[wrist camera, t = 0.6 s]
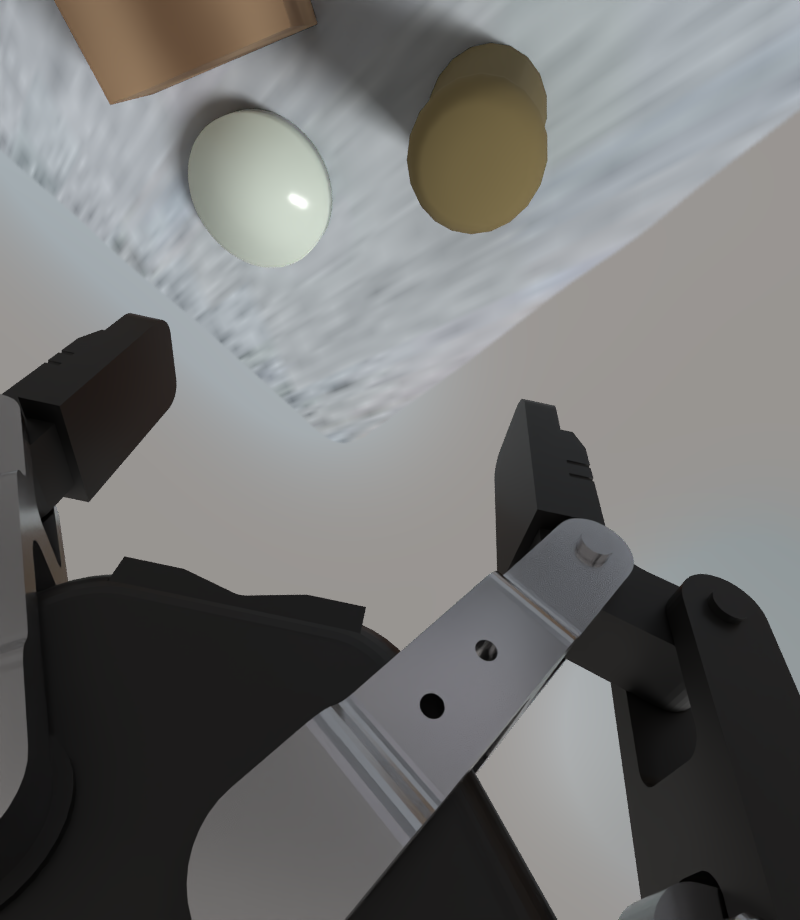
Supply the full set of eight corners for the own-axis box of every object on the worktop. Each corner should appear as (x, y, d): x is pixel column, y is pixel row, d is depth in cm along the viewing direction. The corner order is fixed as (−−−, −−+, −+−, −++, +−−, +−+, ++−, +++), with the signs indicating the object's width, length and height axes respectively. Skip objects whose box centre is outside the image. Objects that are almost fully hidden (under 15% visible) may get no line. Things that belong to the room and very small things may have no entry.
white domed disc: (300, 86, 27) (289, 90, 26) (352, 239, 32) (345, 250, 30) (176, 134, 30) (160, 140, 28) (242, 270, 34) (231, 280, 33)
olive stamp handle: (426, 183, 29) (392, 254, 21) (427, 44, 25) (385, 64, 17) (537, 184, 28) (547, 258, 20) (556, 40, 24) (579, 59, 16)
